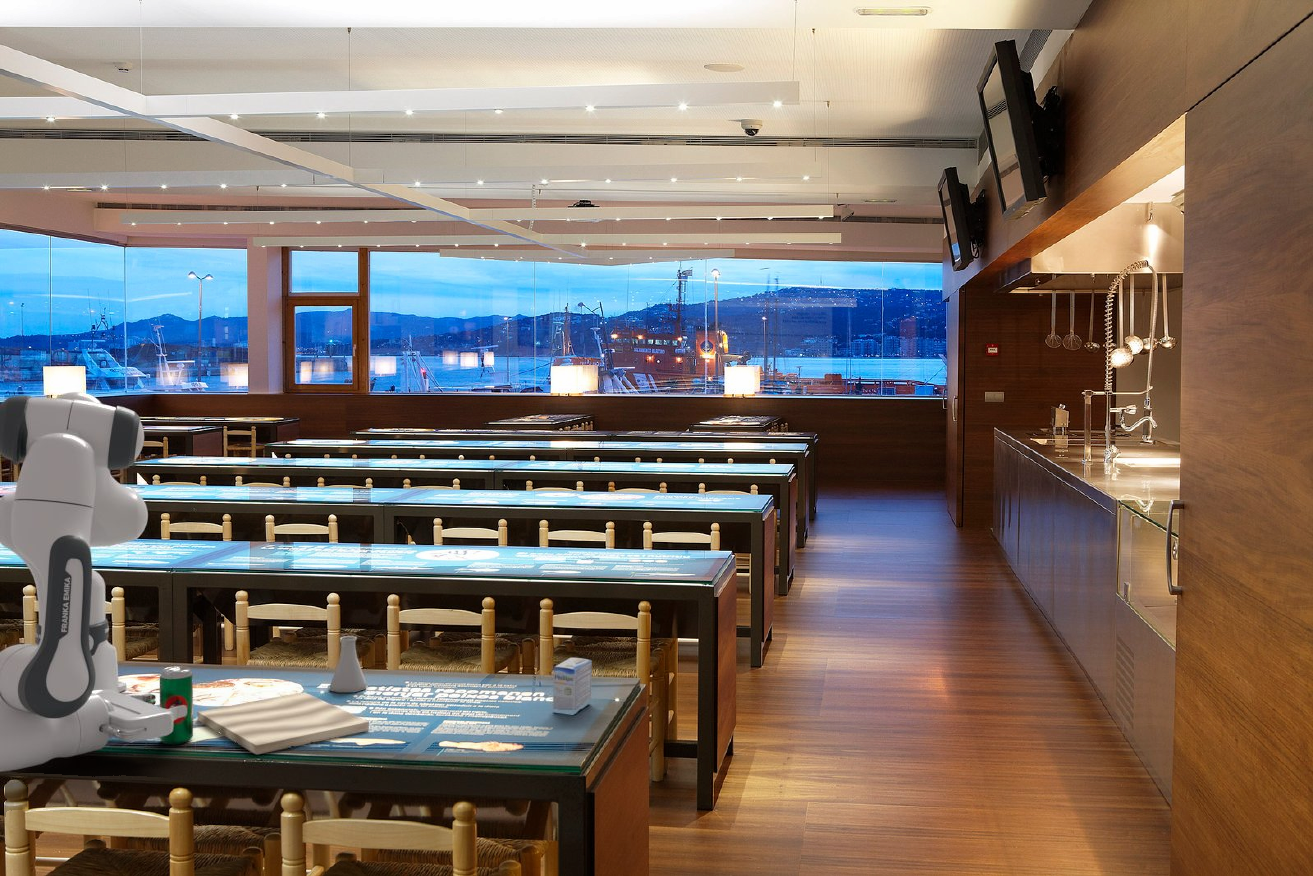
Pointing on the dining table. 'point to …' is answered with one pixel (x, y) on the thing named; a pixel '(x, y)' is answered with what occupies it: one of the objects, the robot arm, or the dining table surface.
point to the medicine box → (572, 683)
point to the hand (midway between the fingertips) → (168, 704)
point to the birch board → (281, 722)
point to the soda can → (177, 701)
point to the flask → (348, 669)
